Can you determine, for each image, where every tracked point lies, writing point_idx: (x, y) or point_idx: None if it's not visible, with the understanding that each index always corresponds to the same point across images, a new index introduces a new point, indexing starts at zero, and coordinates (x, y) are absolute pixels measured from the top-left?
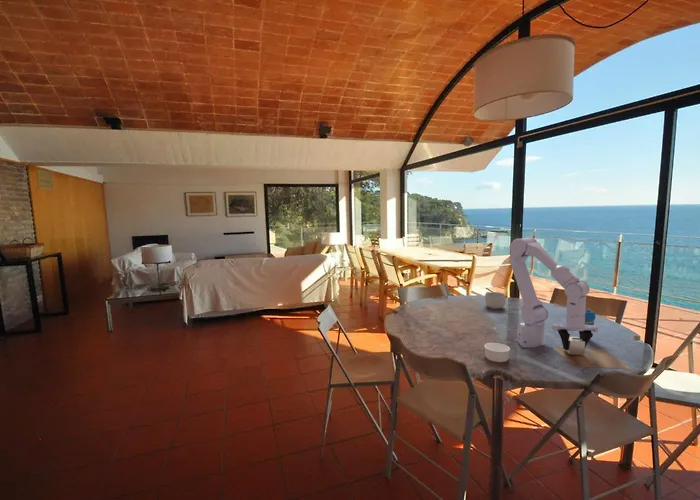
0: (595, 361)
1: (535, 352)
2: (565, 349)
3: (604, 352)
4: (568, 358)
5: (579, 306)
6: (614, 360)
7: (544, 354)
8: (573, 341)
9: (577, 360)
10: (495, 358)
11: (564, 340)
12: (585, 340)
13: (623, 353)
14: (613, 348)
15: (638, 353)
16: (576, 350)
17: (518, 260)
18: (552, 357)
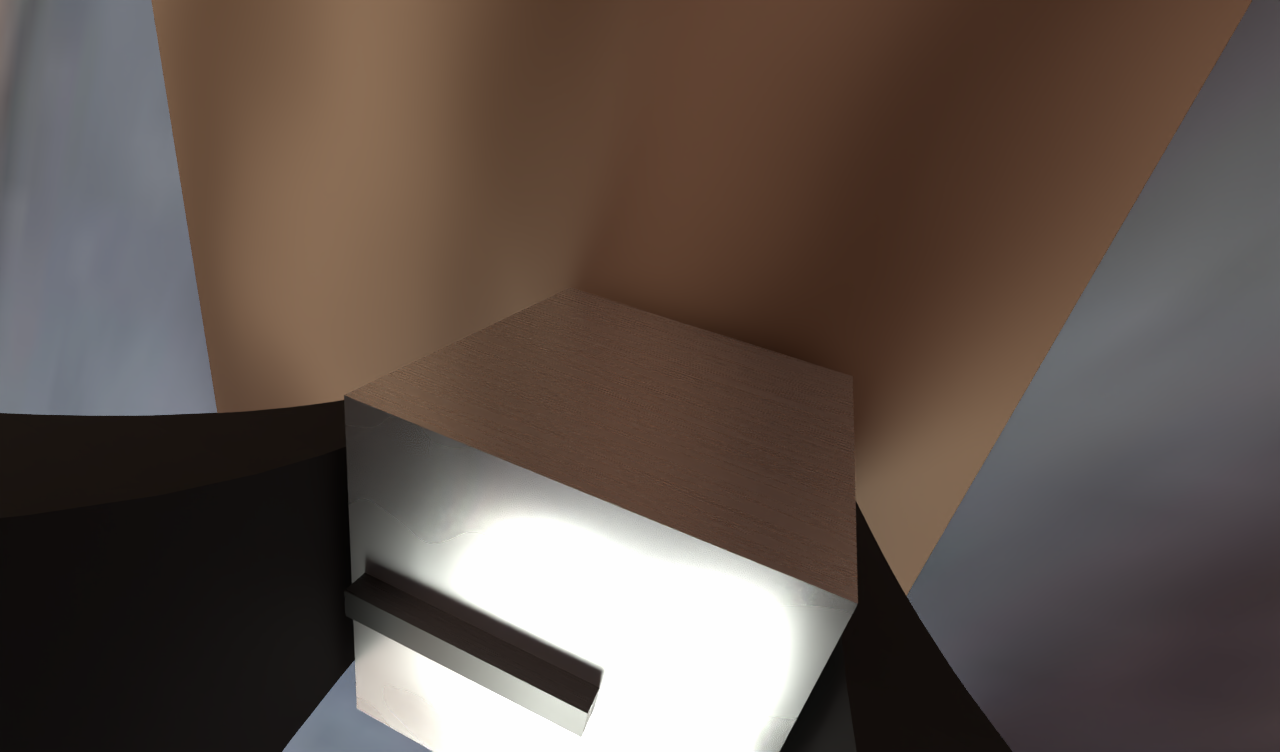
0: (525, 19)
1: (1239, 734)
2: (858, 510)
3: (244, 358)
4: (1007, 239)
5: None
6: (221, 61)
7: (1134, 624)
8: (720, 539)
9: (876, 102)
10: None
11: (990, 738)
12: (295, 445)
13: (114, 364)
14: None
15: (16, 335)
16: (689, 364)
17: None
18: (1100, 490)
